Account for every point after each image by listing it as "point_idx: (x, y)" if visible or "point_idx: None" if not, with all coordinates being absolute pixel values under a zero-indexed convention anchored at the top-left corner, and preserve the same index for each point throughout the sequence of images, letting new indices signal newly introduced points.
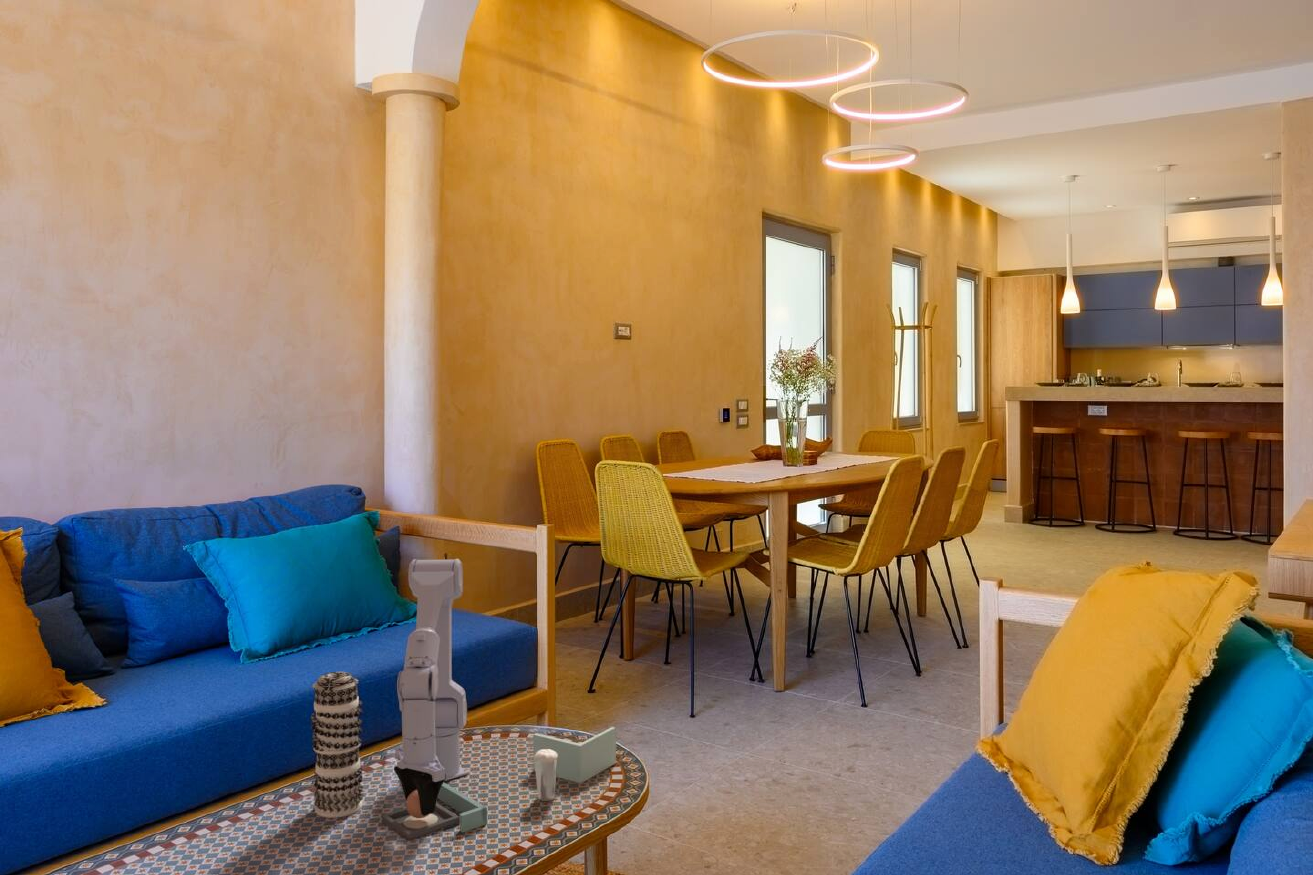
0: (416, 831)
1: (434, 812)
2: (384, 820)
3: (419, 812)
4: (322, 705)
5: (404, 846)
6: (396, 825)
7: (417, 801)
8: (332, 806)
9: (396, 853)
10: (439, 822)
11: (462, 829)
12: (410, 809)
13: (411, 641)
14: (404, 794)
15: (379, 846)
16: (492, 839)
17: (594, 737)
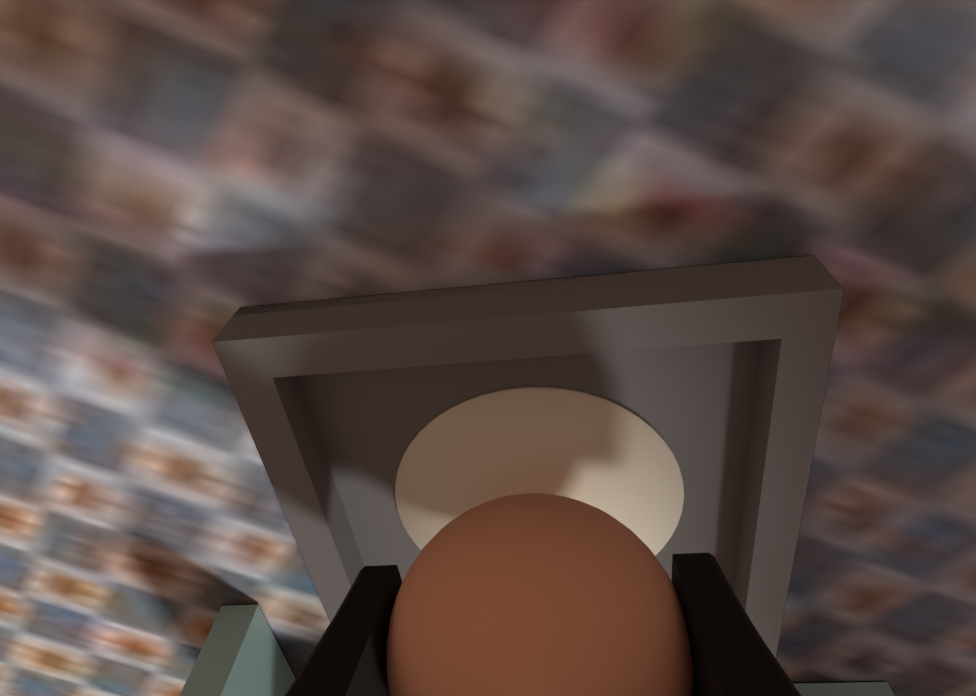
0: (247, 412)
1: None
2: (758, 277)
3: (411, 567)
4: None
5: (144, 238)
6: (479, 322)
7: (416, 670)
8: None
9: (7, 118)
10: (333, 581)
11: (216, 623)
12: (474, 542)
13: None
14: (756, 647)
15: (242, 13)
16: (66, 663)
17: None
